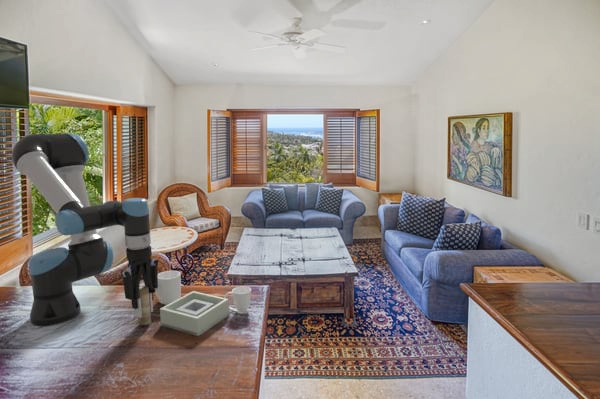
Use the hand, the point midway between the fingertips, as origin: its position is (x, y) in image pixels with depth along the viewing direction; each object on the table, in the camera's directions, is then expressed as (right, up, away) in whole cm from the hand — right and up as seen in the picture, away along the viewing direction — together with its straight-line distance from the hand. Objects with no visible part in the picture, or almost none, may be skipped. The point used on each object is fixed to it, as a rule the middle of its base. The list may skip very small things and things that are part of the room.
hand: (143, 313), depth 132 cm
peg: (0, -3, +1) cm, 3 cm away
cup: (+30, -2, +10) cm, 32 cm away
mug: (+2, -1, +19) cm, 19 cm away
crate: (+17, -3, +3) cm, 17 cm away
